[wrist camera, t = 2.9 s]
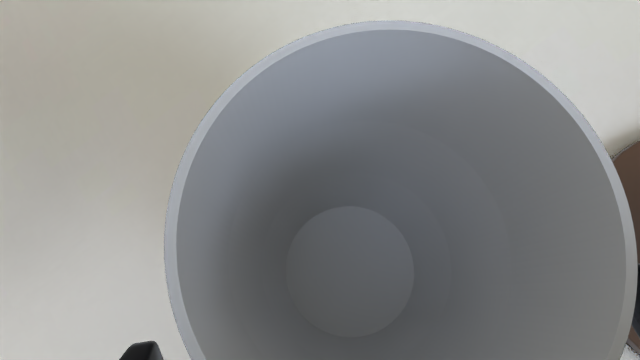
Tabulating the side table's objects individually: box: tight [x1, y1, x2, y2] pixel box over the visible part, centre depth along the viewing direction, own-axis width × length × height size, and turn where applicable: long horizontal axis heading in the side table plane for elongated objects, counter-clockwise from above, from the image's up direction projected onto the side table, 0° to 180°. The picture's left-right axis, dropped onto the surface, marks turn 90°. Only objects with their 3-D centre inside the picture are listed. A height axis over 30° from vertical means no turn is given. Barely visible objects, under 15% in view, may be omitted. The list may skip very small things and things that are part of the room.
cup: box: [164, 21, 638, 360], centre depth 13 cm, size 8×8×10 cm
